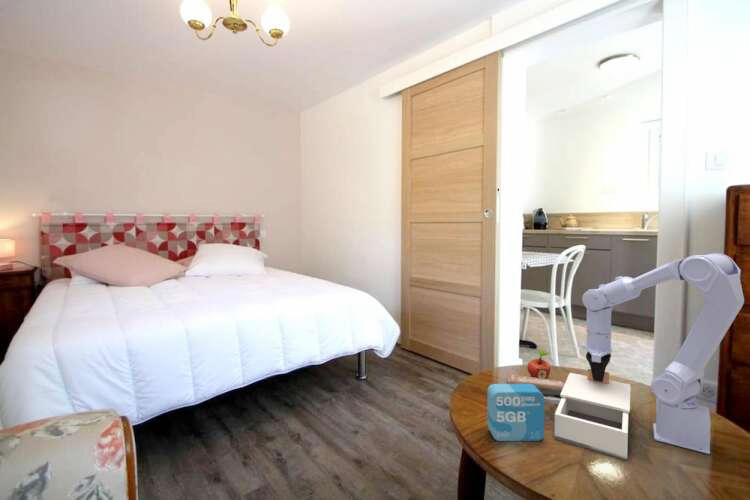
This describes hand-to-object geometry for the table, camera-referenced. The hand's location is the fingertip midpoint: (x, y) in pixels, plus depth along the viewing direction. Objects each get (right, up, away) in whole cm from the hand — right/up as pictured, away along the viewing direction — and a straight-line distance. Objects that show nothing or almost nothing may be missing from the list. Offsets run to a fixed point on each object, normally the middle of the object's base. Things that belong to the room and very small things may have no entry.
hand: (598, 379), depth 98 cm
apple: (-9, -7, +17) cm, 20 cm away
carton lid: (-4, -1, -5) cm, 6 cm away
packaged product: (-13, -8, +8) cm, 17 cm away
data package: (-29, -9, -13) cm, 33 cm away
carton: (-9, -8, -12) cm, 18 cm away
